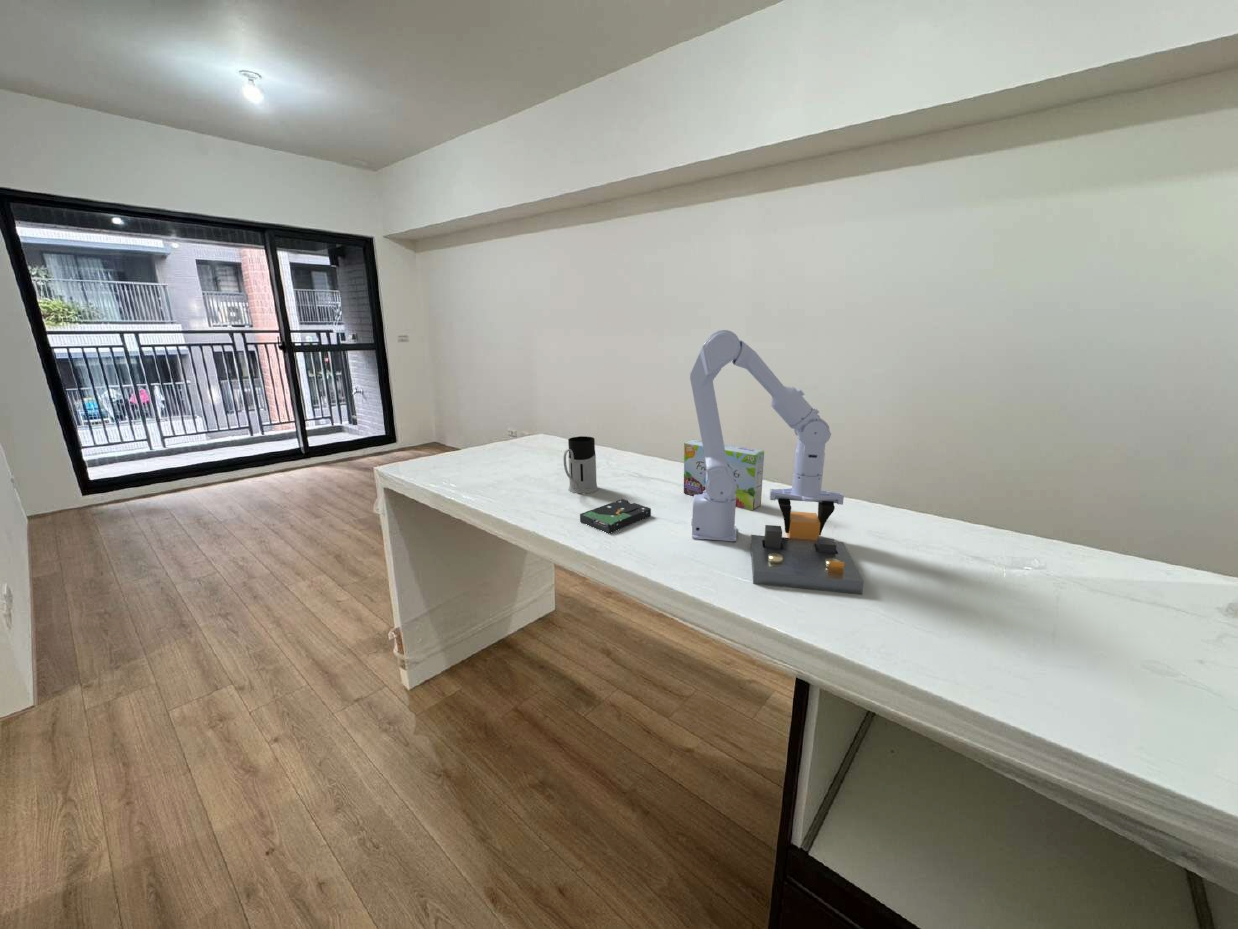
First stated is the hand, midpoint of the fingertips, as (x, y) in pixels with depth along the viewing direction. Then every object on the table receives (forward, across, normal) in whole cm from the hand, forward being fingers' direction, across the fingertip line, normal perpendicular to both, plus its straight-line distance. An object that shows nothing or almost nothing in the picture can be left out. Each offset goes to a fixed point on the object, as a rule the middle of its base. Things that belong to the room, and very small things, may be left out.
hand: (802, 532), depth 103 cm
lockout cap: (+1, 0, 0) cm, 1 cm away
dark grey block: (+1, +3, -10) cm, 11 cm away
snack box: (+2, -18, +22) cm, 28 cm away
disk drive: (+2, -42, +3) cm, 43 cm away
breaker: (-1, -7, -10) cm, 12 cm away
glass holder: (+2, -58, +21) cm, 62 cm away
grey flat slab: (+1, -2, -14) cm, 14 cm away
